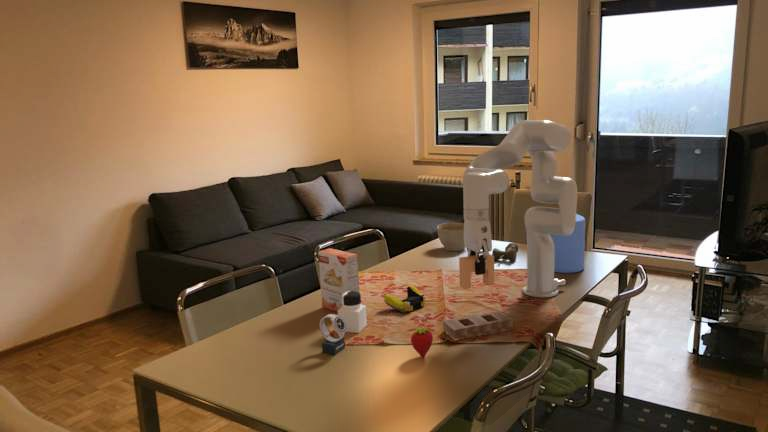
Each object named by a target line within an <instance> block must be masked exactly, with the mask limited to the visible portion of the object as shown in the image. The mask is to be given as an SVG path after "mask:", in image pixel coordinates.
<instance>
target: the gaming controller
mask: <svg viewBox="0 0 768 432" xmlns="http://www.w3.org/2000/svg"><path fill="white" fill-rule="evenodd" d="M406 292H407V293H406V294H407V297H406V298H404V299H402V300H401V299H398V298H396V297H394V296H392V295H391V294H389V293H387V294H385V295H384V298H383V299H384V303H385V304H386V305H387V306H389V307H390V308H392V309H395V310H397V311H399V312H400V313H407V312H413V311H416V310H417V309H419V308H422V307H424V306H425V305H426V301H427V300H426V297H427V296H426V294H422V293H421V292H420V290H419V289H418V288H416V286H414V285H409V286H407V287H406Z"/></svg>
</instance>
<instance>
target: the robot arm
mask: <svg viewBox="0 0 768 432" xmlns="http://www.w3.org/2000/svg"><path fill="white" fill-rule="evenodd" d="M572 140H573V138H572V133H571V130H570V129H569V128H568V127H567V126H566V125H563V124H560V123H557V122H554V121H551V120H547V119H538V120H537V119H526V120H525V119H524V120H519V121H518V122H516V123H515V124H514V125H513V126H512V127H511V129H510V130H509V132H508V133H507V134H506V136H505V137H504V138H503V140H502V141H501V142H500V143H499V144H498V145H496V146H493V147H492V148H490V149H488V150H486V151H484V152H482V153H480V154H479V155H477V156H476V157H475V158H473V160H472V161H471V162H470V163H469V165H468V166H467V167H466V169H465V170H464V173H463V176H462V181H461V182H462V186H463V187H462V189H463V192H462V193H463V196H462V197H463V198H462V199H463V219H464V222H463V223H464V245H465V249H466V251H467V256H474V255H476V262H475V272H474V275H475V276H479V275H482V276H483V274H485V262H486V258H487V257H488V256H489V254H490V252H492V251H493V241H492V228H491V223H490V195H499V194H502V193H504V192H505V191H506V190H507V189H508V188H509V185H510V177H509V174H508V173H507V172H506V171H505V170H502V169H506V168H509V167H512V166H515V165H517V164H519V163H520V162H522V160H523V159H524V157H525V156H526V154H527V153H528V154H529V156H530V157H529V158H530V159H531V183H530V197H531V199H532V200H533V201H535V202H537V203H543V204H552V205H558V207H552V206H551V207H550V206H542V205H541V206H540V205H539V206H531V207H530V208H528V209H527V210H526V212H525V213H524V217H523V218H524V226H525V227H524V228H525V232H526V245H527V247H526V254H527V255H526V256H527V257H526V259H527V260H526V264H527V265H526V266H527V268H526V273H527V274H526V278H527V279H526V280H527V281H526V285H525V286H524V287H522V292H523V294H524V295H527V296H530V297H533V298H552V297H555V296H557V295H559V288H558V287H559V286H564V285H566V283H567V281H566V279H564V278H563V279H558V278H555V272H554V258H555V246H554V242H553V238H552V237H551V236H550V235H557V236H569V235H571V234H572V233H573V231H574V228H575V222H576V214H577V206H578V185H577V183H576V181H575V180H574V179H573V178H571V177H567V176H558V174H557V173H558V160H557V158H556V155H555V154H554V152H557V153H558V152H559V153H561V152H566V151H567V150H568V149H569V148H570V146H571V144H572ZM481 250H482V251H481ZM481 254H482V255H481ZM479 255H480V257H479Z"/></svg>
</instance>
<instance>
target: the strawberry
mask: <svg viewBox="0 0 768 432" xmlns="http://www.w3.org/2000/svg"><path fill="white" fill-rule="evenodd" d="M427 328H428V326H426V327H422V328H419V327H417V328H416V327H413V329H414V330H416V331H415V332H413V334H412V335H411V338H410V341H411V342H410V343H411V346H412V348H413V349H414V350H415V351H416V352H417V353H418V355H419V356H420V357H422V358H424V357H426V355H427V353H428V352H429V350H430V348H431V346H432V344H433V334H432V331H431V330H430V329H427Z"/></svg>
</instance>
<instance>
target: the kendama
mask: <svg viewBox="0 0 768 432" xmlns="http://www.w3.org/2000/svg"><path fill="white" fill-rule="evenodd" d="M491 252H492V253H491V255H493V256H494V262H496V261H499V260H508V261H510V262H511V263H512V264H515V262H516V260H517V253H518V252H519V246H518V244H516V243H515V242H510V243H508V244H507V246H506V247H505V248H504V250H501V249H499V248H496V247H495V248H492V251H491Z"/></svg>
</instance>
